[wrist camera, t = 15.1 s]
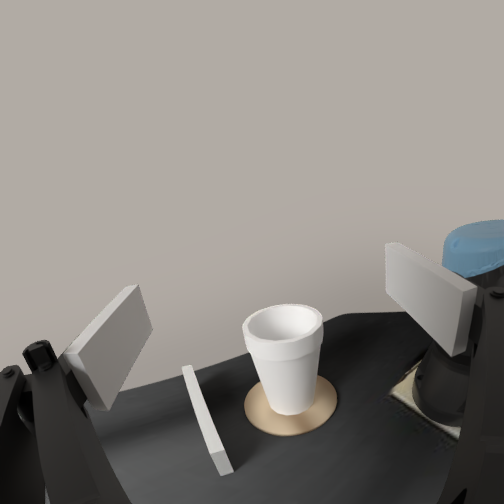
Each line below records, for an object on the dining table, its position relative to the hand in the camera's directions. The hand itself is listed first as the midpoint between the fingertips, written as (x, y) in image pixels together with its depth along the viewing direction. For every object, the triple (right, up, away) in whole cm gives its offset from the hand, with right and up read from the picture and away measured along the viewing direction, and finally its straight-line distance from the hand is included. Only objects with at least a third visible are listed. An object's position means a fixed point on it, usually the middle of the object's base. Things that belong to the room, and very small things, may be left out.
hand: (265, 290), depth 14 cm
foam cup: (+5, -19, +22) cm, 29 cm away
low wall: (-7, -22, +19) cm, 30 cm away
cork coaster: (+5, -19, +22) cm, 30 cm away
